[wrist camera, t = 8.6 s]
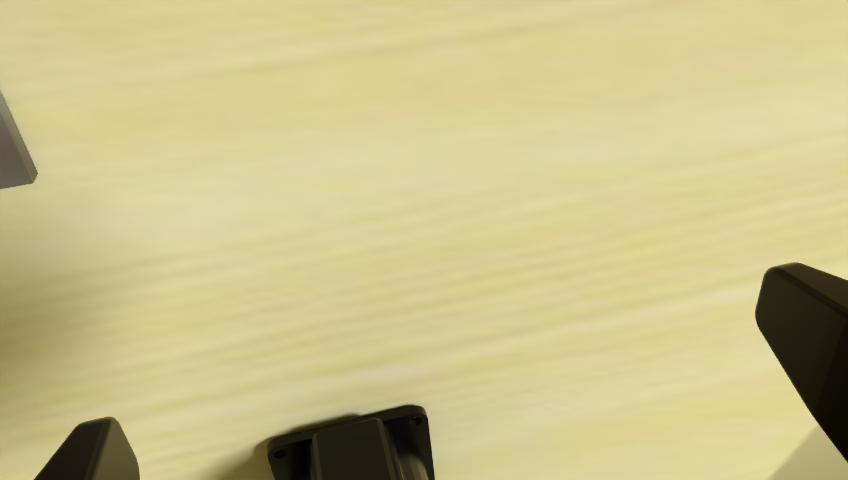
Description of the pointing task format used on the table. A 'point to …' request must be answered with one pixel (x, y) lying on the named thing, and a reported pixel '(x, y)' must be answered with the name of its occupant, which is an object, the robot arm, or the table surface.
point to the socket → (13, 152)
